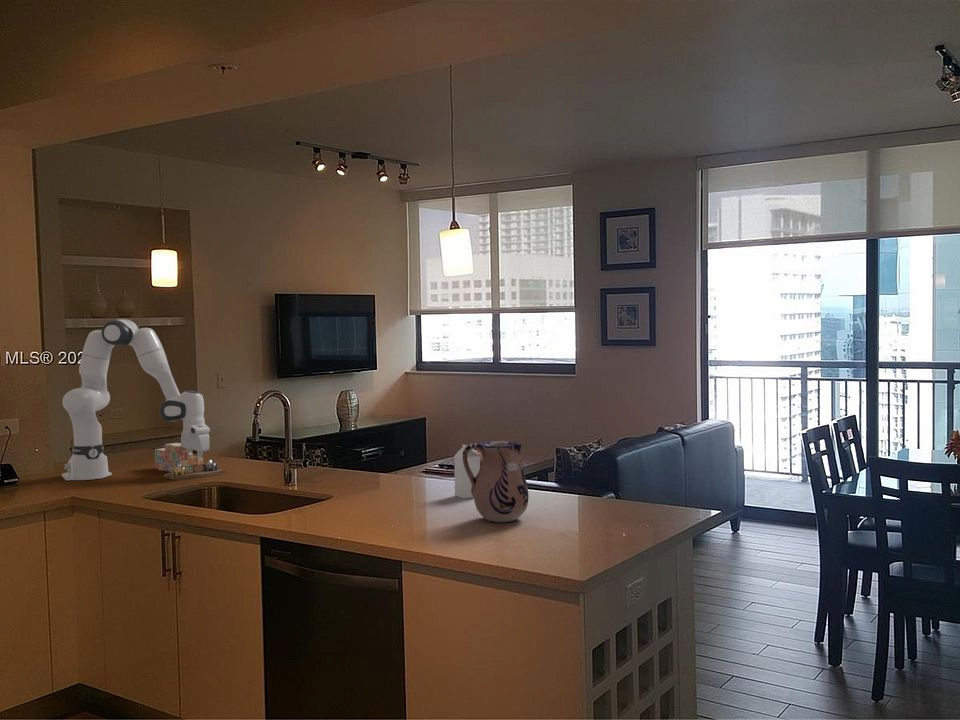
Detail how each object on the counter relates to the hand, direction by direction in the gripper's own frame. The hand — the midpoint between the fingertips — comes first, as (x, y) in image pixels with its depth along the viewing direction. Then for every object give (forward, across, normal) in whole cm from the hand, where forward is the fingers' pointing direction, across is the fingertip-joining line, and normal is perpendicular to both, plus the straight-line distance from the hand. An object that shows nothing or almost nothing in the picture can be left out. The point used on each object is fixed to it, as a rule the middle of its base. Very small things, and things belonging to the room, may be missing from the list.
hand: (195, 459), depth 365 cm
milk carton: (+8, +120, +49) cm, 130 cm away
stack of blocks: (+7, -21, -1) cm, 22 cm away
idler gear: (+2, 0, 0) cm, 2 cm away
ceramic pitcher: (+8, +155, +29) cm, 158 cm away
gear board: (+7, 0, 0) cm, 7 cm away
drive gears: (+5, 0, 0) cm, 5 cm away
